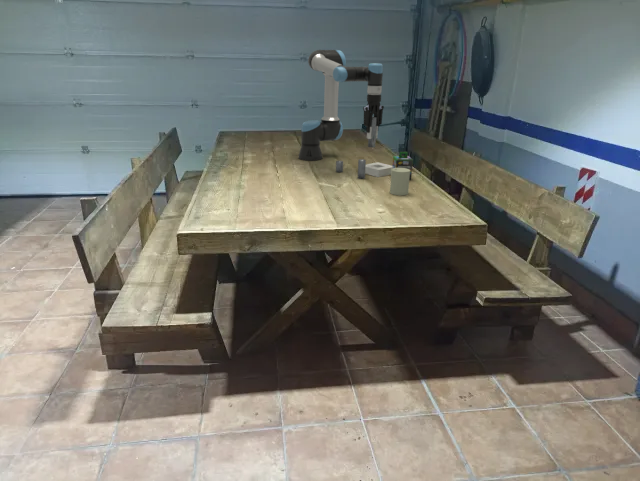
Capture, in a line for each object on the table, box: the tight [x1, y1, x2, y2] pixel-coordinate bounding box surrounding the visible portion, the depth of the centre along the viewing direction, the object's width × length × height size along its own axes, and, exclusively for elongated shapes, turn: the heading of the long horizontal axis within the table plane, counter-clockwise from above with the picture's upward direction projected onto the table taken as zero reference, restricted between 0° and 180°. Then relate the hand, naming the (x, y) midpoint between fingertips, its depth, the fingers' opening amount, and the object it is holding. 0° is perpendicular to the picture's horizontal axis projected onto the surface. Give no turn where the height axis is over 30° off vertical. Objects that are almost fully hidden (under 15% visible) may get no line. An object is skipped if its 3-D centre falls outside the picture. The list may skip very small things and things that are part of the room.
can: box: [389, 168, 410, 196], centre depth 237 cm, size 9×9×12 cm
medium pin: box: [357, 158, 367, 180], centre depth 263 cm, size 4×4×10 cm
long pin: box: [367, 116, 377, 148], centre depth 266 cm, size 4×4×16 cm
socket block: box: [365, 161, 393, 178], centre depth 276 cm, size 14×14×4 cm
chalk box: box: [392, 151, 414, 181], centre depth 263 cm, size 9×9×15 cm
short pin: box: [335, 160, 344, 174], centre depth 277 cm, size 4×4×6 cm
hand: (371, 138), depth 267 cm, fingers closed on long pin, 4 cm apart
